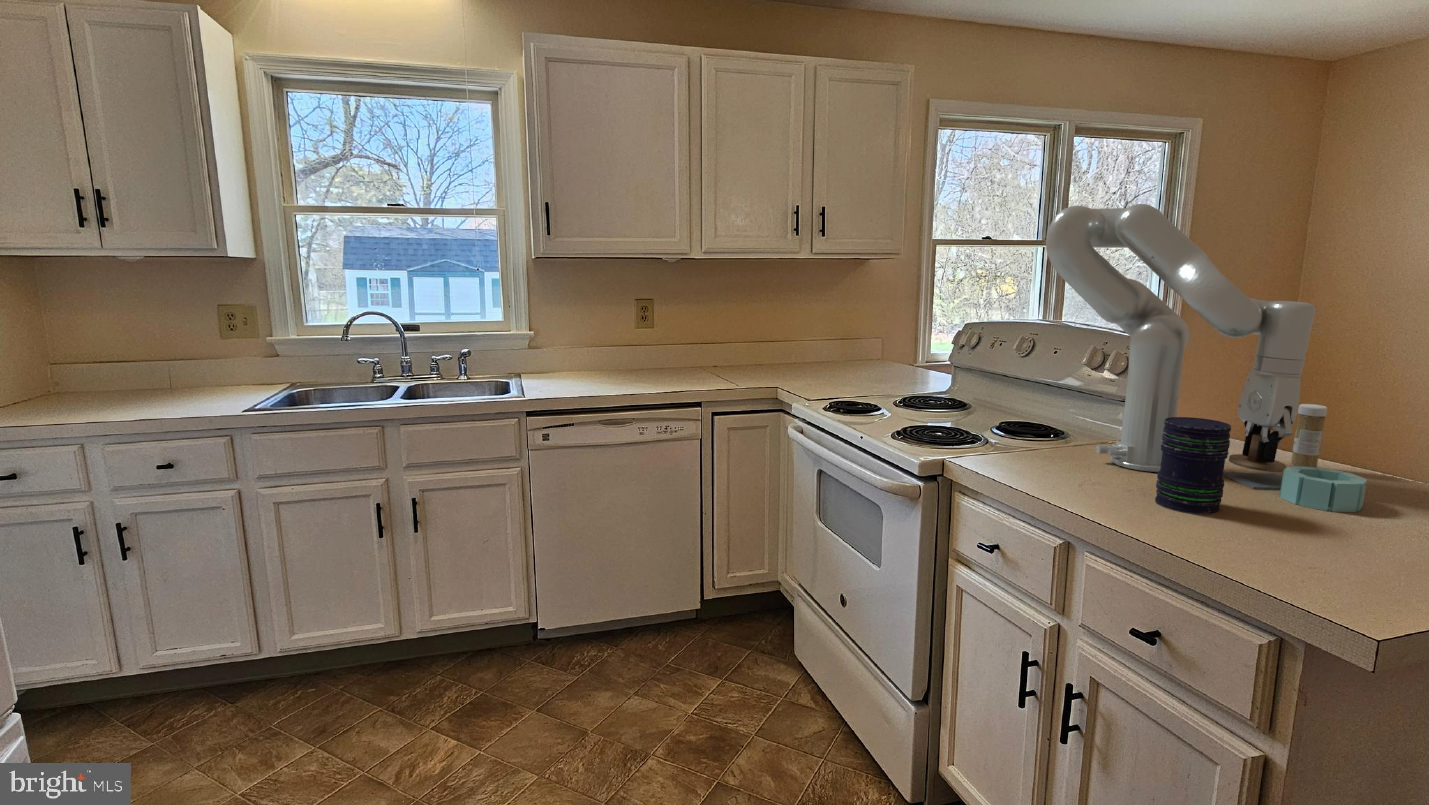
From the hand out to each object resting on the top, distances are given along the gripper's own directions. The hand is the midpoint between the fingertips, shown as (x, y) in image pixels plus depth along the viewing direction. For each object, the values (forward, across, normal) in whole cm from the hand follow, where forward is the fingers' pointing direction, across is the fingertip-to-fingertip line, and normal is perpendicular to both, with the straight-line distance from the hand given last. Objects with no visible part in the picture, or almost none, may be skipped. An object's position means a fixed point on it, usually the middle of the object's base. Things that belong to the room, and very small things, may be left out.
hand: (1257, 457), depth 140 cm
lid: (+1, 0, 0) cm, 1 cm away
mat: (+5, +1, +1) cm, 5 cm away
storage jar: (+5, +17, -22) cm, 28 cm away
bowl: (+4, +13, +3) cm, 14 cm away
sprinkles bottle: (+4, -10, +16) cm, 20 cm away
